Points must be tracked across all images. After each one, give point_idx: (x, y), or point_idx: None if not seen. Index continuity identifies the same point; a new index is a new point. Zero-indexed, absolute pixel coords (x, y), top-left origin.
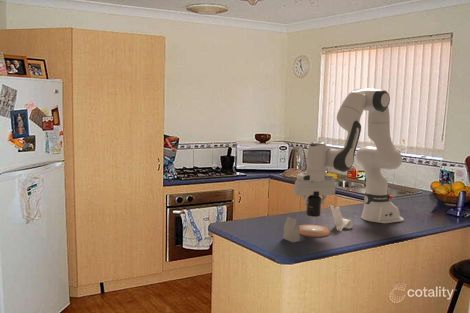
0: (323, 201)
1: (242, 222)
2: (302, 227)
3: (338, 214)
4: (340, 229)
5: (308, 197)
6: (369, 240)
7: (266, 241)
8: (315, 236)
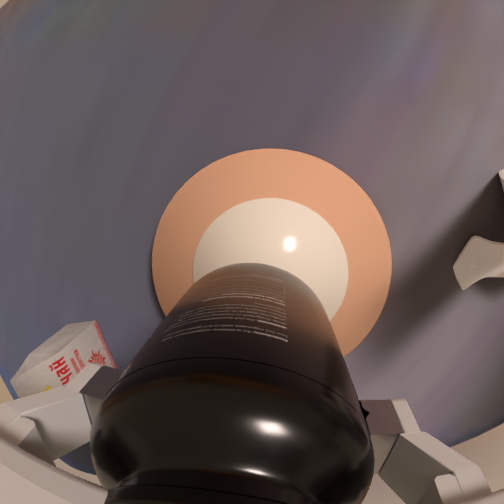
0: (386, 466)
1: (6, 29)
2: (211, 216)
3: None
4: (467, 280)
5: (97, 473)
6: (448, 438)
7: (12, 331)
8: None
